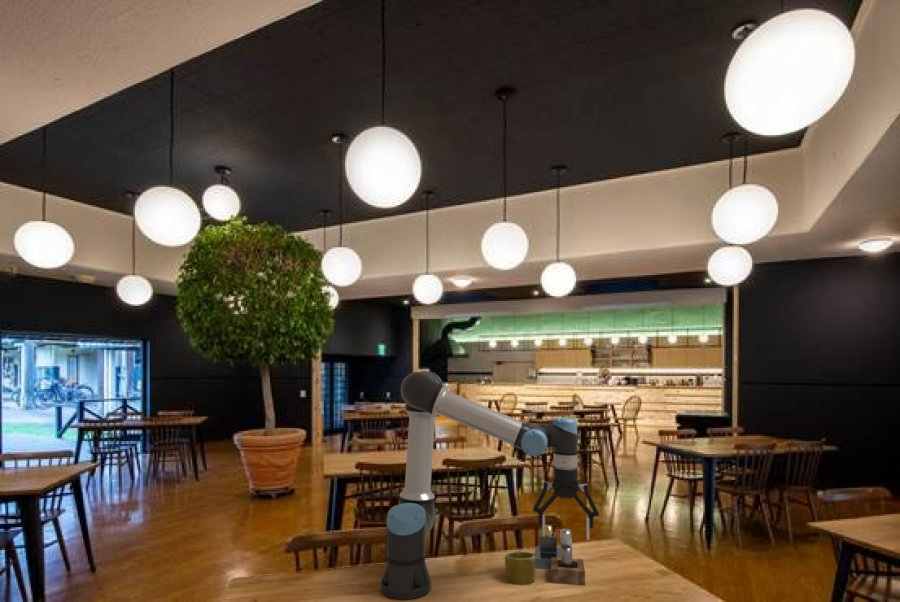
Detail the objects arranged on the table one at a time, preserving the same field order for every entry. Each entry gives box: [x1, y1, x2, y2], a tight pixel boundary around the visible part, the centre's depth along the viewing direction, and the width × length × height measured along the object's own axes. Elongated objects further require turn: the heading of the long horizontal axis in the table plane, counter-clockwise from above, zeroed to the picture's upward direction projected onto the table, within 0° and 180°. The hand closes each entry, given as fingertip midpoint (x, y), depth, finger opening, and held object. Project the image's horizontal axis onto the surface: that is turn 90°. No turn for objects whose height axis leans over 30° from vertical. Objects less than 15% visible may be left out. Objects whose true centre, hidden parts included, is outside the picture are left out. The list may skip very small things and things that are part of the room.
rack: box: [550, 557, 586, 586], centre depth 167 cm, size 10×10×5 cm
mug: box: [504, 550, 536, 586], centre depth 167 cm, size 12×10×10 cm
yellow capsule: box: [545, 524, 553, 536], centre depth 183 cm, size 3×3×7 cm
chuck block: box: [534, 530, 561, 571], centre depth 180 cm, size 9×12×9 cm
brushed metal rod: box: [559, 528, 573, 568], centre depth 168 cm, size 3×3×14 cm
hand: (565, 536), depth 168 cm, fingers open, 13 cm apart
